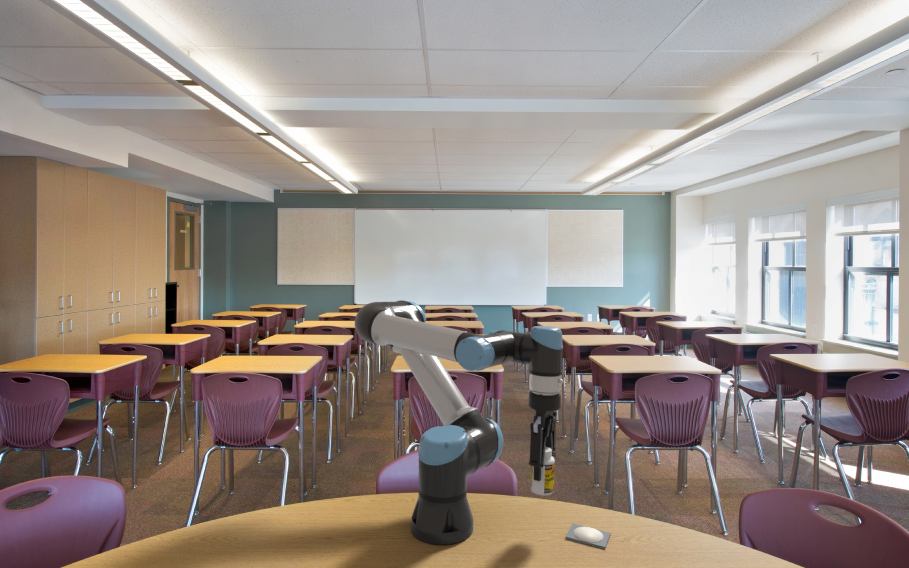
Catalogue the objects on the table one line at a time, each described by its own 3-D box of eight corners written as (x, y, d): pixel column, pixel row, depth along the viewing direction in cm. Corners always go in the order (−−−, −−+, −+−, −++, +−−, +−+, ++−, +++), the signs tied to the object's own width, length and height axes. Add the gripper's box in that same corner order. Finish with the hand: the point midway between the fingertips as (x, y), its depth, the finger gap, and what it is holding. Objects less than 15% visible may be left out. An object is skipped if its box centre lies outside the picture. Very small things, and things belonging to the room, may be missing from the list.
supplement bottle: (541, 498, 111) (542, 455, 111) (525, 489, 116) (526, 447, 116) (558, 493, 114) (560, 450, 114) (542, 484, 119) (543, 443, 119)
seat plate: (565, 538, 112) (565, 536, 112) (572, 525, 119) (572, 522, 119) (605, 549, 108) (605, 546, 108) (610, 534, 114) (610, 532, 114)
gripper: (549, 402, 105) (545, 507, 105) (570, 386, 121) (567, 477, 122) (516, 397, 108) (513, 499, 109) (541, 382, 125) (538, 471, 125)
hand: (542, 487), depth 115 cm, fingers closed on supplement bottle, 6 cm apart
